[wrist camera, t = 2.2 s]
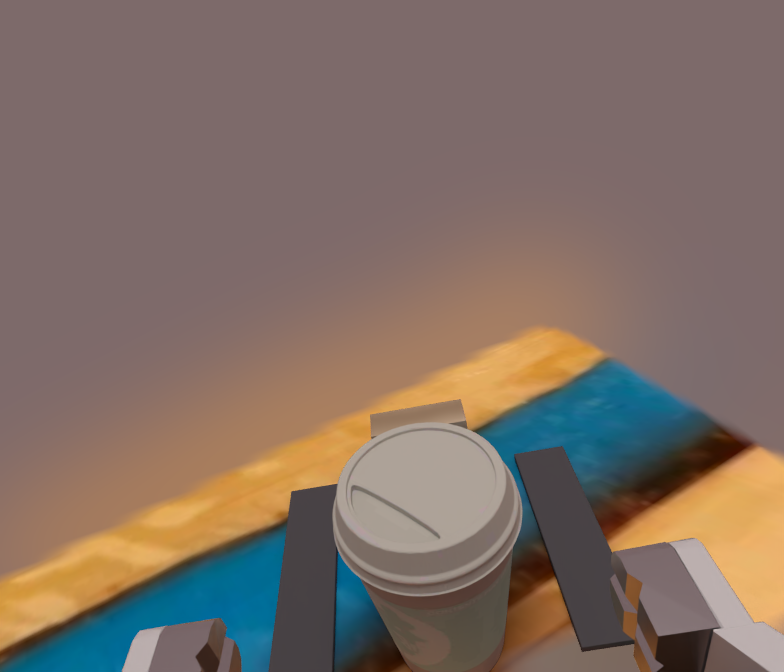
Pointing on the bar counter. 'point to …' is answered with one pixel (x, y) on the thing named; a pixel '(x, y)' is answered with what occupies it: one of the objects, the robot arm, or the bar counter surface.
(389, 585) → the coffee cup
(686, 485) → the bar counter surface
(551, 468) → the gutter strips
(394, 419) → the maple block
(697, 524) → the bar counter surface
